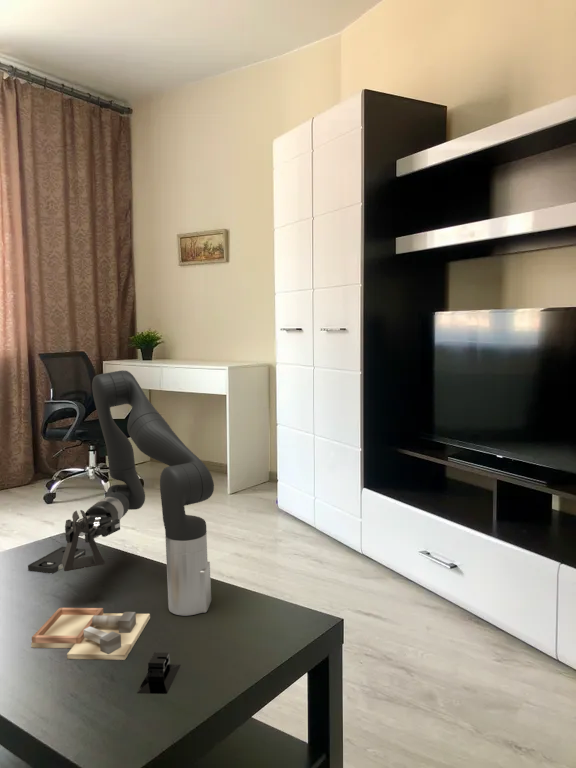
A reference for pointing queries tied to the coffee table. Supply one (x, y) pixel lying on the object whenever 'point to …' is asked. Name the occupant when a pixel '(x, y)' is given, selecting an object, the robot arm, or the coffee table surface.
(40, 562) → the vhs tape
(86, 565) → the phone stand
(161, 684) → the black slotted box
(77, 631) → the stand
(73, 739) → the coffee table surface
